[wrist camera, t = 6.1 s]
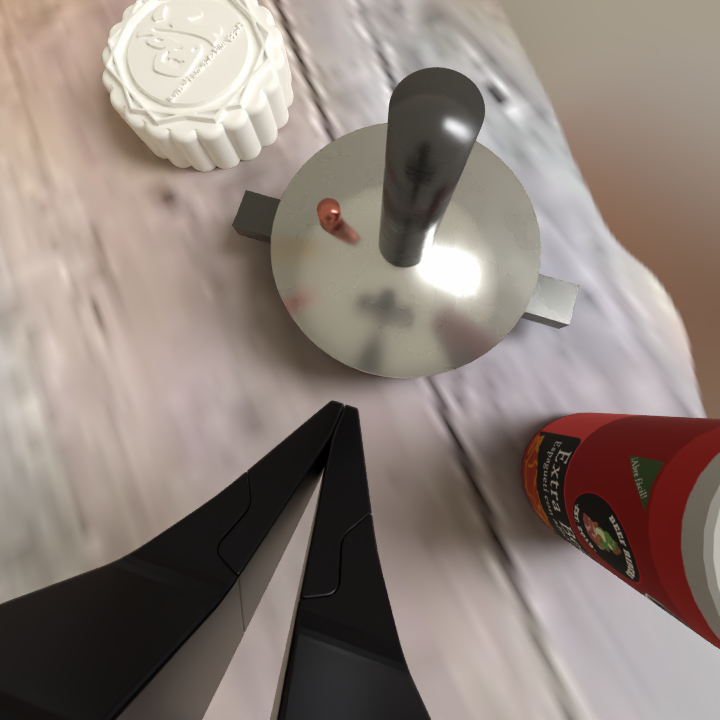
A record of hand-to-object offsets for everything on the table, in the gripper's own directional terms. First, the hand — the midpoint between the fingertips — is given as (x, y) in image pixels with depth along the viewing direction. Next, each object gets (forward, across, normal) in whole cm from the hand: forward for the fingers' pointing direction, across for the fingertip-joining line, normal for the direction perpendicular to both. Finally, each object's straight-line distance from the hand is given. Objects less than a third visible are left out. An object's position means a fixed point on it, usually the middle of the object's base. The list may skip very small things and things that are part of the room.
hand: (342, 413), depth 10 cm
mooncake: (+21, +17, -5) cm, 27 cm away
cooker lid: (+12, 0, -1) cm, 12 cm away
